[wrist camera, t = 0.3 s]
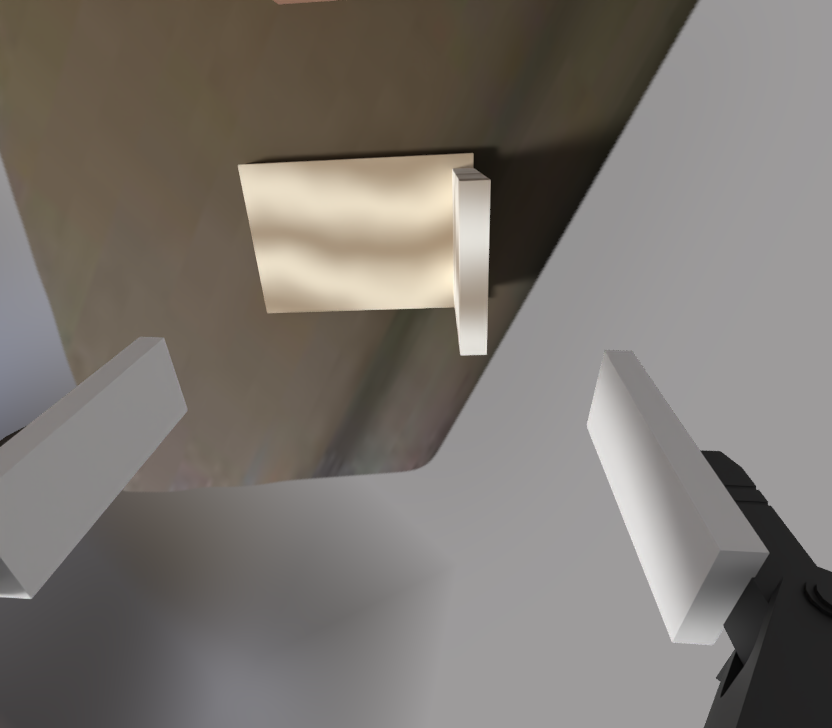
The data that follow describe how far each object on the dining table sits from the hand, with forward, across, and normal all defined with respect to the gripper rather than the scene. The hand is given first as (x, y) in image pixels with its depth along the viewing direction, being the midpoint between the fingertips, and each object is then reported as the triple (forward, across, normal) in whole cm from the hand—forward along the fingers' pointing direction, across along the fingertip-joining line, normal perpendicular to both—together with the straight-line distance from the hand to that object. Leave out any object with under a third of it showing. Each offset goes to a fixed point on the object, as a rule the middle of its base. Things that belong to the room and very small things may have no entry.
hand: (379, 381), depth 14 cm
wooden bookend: (+27, -5, -3) cm, 27 cm away
